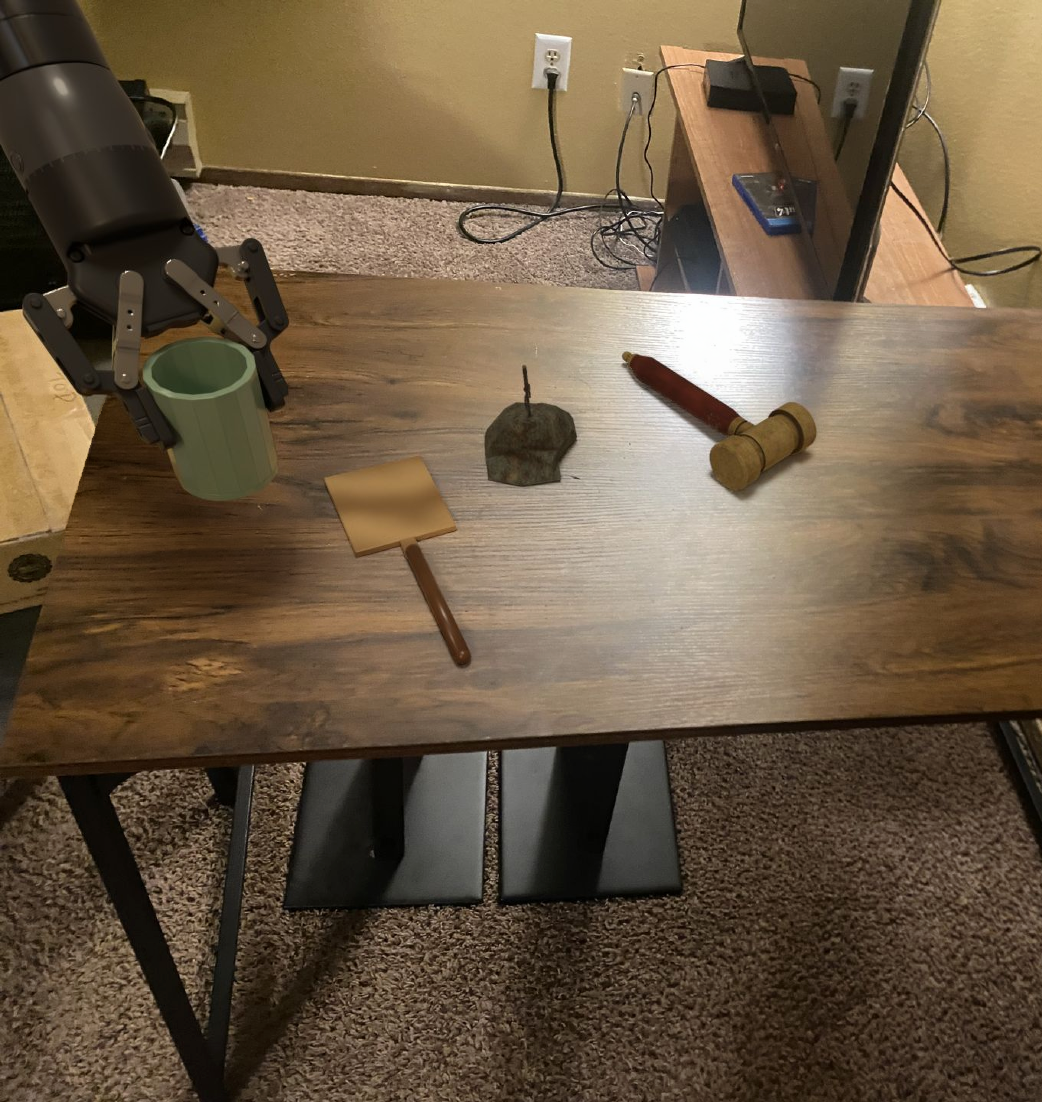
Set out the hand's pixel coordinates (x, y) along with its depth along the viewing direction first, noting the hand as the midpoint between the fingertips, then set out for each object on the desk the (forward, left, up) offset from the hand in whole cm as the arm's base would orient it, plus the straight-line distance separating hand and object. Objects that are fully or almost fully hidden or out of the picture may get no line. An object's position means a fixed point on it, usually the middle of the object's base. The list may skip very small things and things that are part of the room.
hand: (224, 427), depth 62 cm
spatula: (+10, +4, -16) cm, 19 cm away
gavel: (+32, +26, -16) cm, 44 cm away
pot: (-1, +1, -5) cm, 5 cm away
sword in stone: (+17, +19, -16) cm, 30 cm away
